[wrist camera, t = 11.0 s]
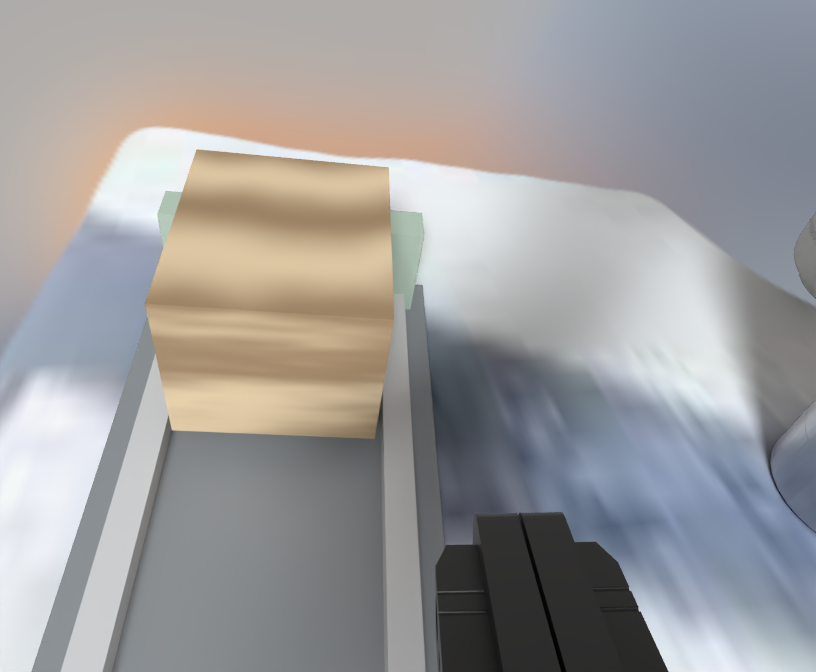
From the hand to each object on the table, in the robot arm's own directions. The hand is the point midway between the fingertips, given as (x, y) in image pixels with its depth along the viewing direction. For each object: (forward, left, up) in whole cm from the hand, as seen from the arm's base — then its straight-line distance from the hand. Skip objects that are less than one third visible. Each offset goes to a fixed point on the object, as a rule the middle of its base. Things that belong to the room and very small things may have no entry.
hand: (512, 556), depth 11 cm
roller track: (-8, -14, -22) cm, 27 cm away
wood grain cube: (-12, -18, -20) cm, 30 cm away
